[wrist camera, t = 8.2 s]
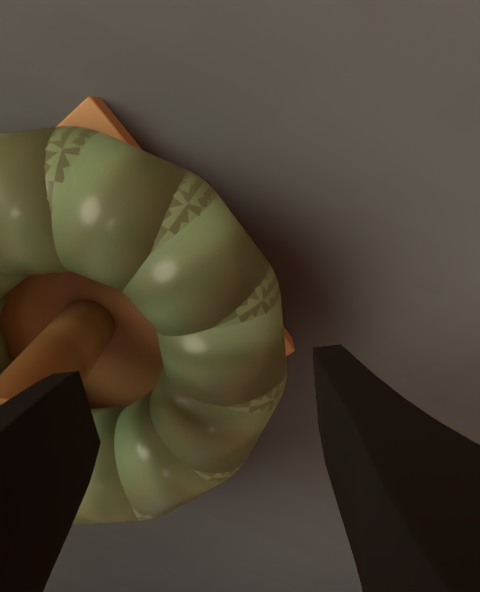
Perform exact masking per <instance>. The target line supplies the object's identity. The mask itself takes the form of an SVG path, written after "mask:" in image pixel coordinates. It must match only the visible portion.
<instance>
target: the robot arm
mask: <svg viewBox="0 0 480 592" xmlns="http://www.w3.org/2000/svg"><path fill="white" fill-rule="evenodd" d="M313 360H314V374H315V387H316V400H317V413H318V425H319V430H320V436H321V442H322V447H323V452H324V458H325V463H326V467H327V470H328V474H329V477H330V480H331V484H332V487H333V490H334V494H335V497H336V500H337V504H338V507H339V510H340V513H341V517H342V520H343V523H344V527H345V530H346V533H347V536H348V540H349V543H350V546H351V550H352V553H353V556H354V559H355V563H356V567H357V570H358V574H359V578H360V582H361V586H362V590H363V592H480V445H479V444H477V443H475V442H473V441H472V440H470V439H468V438H466V437H465V436H463V435H461V434H459V433H458V432H456V431H454V430H452V429H451V428H449V427H447V426H445V425H444V424H442V423H441V422H439V421H437V420H436V419H434V418H433V417H431V416H429V415H428V414H426V413H425V412H424V411H422V410H421V409H419V408H418V407H416V406H415V405H413V404H412V403H411V402H409V401H408V400H406V399H405V398H403V397H402V396H401V395H399V394H398V393H397V392H396V391H394V390H393V389H392V388H390V387H389V386H388V385H387V384H385V383H384V382H383V381H382V380H380V379H379V378H378V377H377V376H376V375H374V374H373V373H372V372H371V371H370V370H369V369H368V368H366V367H365V366H364V365H363V364H362V363H361V362H360V361H358V360H357V359H356V358H355V357H354V356H353V355H352V354H351V353H350V352H348V351H347V350H346V349H345V348H344V347H343V346H341V345H332V346H322V347H313ZM100 444H101V442H100V438H99V435H98V432H97V428H96V425H95V422H94V418H93V415H92V412H91V409H90V405H89V402H88V399H87V395H86V392H85V389H84V385H83V382H82V379H81V376H80V372H79V371H73V372H63V373H53V374H51V375H49V376H47V377H45V378H43V379H42V380H40V381H38V382H36V383H35V384H33V385H31V386H30V387H28V388H26V389H25V390H23V391H22V392H20V393H18V394H17V395H15V396H14V397H12V398H11V399H9V400H7V401H6V402H4V403H3V404H1V405H0V592H43V590H44V588H45V585H46V583H47V581H48V578H49V576H50V574H51V571H52V569H53V567H54V565H55V562H56V560H57V558H58V555H59V553H60V551H61V549H62V546H63V544H64V542H65V539H66V537H67V535H68V533H69V530H70V528H71V526H72V523H73V521H74V519H75V517H76V514H77V512H78V510H79V507H80V505H81V503H82V500H83V498H84V496H85V493H86V491H87V488H88V486H89V483H90V480H91V477H92V473H93V470H94V467H95V463H96V459H97V455H98V451H99V448H100Z"/></svg>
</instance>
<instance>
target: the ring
mask: <svg viewBox="0 0 480 592" xmlns="http://www.w3.org/2000/svg"><path fill="white" fill-rule="evenodd" d="M68 271H71V272H74V273H77V274H79V275H82V276H84V277H87V278H89V279H92V280H94V281H97V282H99V283H102V284H104V285H107V286H109V287H112V288H114V289H117V290H119V291H122V292H123V293H124V294H125V296H126V297H127V298H128V299H129V300H130V301H131V302H132V303H133V304H134V306H135V307H136V308H137V309H138V310H139V311H140V312H141V313H142V315H143V316H144V317H145V318H146V319H147V320H148V321H149V322H150V323H151V325H152V326H153V327H154V328H155V329H156V331H157V336H158V341H159V346H160V351H161V356H162V360H163V365H164V366H163V368H162V370H161V373H160V375H159V377H158V380H157V382H156V384H155V387H154V389H153V390H152V391H150V392H149V393H147V394H145V395H144V396H142V397H141V398H139V399H138V400H136V401H135V402H133V403H132V404H130V405H129V406H119V407H107V408H95V409H91V412H92V415H93V418H94V422H95V425H96V428H97V432H98V435H99V438H100V442H101V444H100V448H99V451H98V455H97V459H96V463H95V467H94V470H93V473H92V477H91V480H90V483H89V486H88V488H87V491H86V493H85V496H84V498H83V500H82V503H81V505H80V507H79V510H78V512H77V514H76V517H75V519H74V521H73V523H72V525H87V524H102V523H117V522H132V521H145V520H151V519H155V518H158V517H160V516H162V515H165V514H167V513H169V512H171V511H172V510H174V509H176V508H178V507H179V506H181V505H183V504H185V503H187V502H188V501H190V500H192V499H194V498H196V497H197V496H199V495H201V494H203V493H205V492H206V491H208V490H210V489H212V488H213V487H215V486H217V485H219V484H221V483H222V482H224V481H226V480H227V479H229V478H230V477H231V476H233V475H234V474H235V473H236V472H237V471H238V470H239V469H240V468H241V467H242V465H243V464H244V463H245V461H246V460H247V458H248V456H249V454H250V453H251V451H252V449H253V447H254V445H255V444H256V442H257V440H258V438H259V437H260V435H261V433H262V431H263V430H264V428H265V426H266V424H267V422H268V421H269V419H270V417H271V415H272V414H273V412H274V410H275V408H276V406H277V405H278V403H279V401H280V399H281V397H282V394H283V392H284V389H285V384H286V379H287V362H286V350H285V338H284V327H283V315H282V304H281V293H280V287H279V283H278V280H277V278H276V275H275V273H274V271H273V268H272V267H271V265H270V264H269V262H268V261H267V259H266V258H265V256H264V255H263V254H262V252H261V251H260V250H259V248H258V247H257V246H256V244H255V243H254V242H253V240H252V239H251V238H250V236H249V235H248V234H247V232H246V231H245V230H244V228H243V227H242V226H241V224H240V223H239V222H238V220H237V219H236V218H235V216H234V215H233V214H232V212H231V211H230V210H229V208H228V207H227V206H226V204H225V203H224V202H223V200H222V199H221V198H220V196H219V195H218V194H217V192H216V191H215V190H214V189H213V188H212V187H211V186H210V185H209V184H208V183H207V182H206V181H204V180H203V179H202V178H201V177H199V176H198V175H196V174H194V173H192V172H190V171H188V170H186V169H184V168H182V167H179V166H177V165H175V164H173V163H170V162H168V161H166V160H164V159H161V158H159V157H157V156H154V155H152V154H150V153H148V152H145V151H143V150H141V149H139V148H136V147H134V146H132V145H130V144H127V143H125V142H123V141H121V140H118V139H116V138H114V137H112V136H109V135H107V134H105V133H102V132H99V131H97V130H94V129H90V128H85V127H78V126H61V127H53V128H45V129H37V130H29V131H21V132H13V133H5V134H0V317H1V313H2V309H3V305H4V301H5V297H6V294H7V293H8V292H9V291H10V290H12V289H13V288H14V287H15V286H17V285H18V284H19V283H20V282H22V281H23V280H24V279H25V278H26V277H28V276H30V275H40V274H49V273H59V272H68ZM11 363H12V360H11V358H10V355H9V352H8V349H7V346H6V343H5V340H4V338H3V335H2V332H1V329H0V374H1V373H2V372H3V371H4V370H5V369H6V368H7V367H8V366H9V365H10V364H11Z"/></svg>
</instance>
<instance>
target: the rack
mask: <svg viewBox="0 0 480 592" xmlns="http://www.w3.org/2000/svg"><path fill="white" fill-rule="evenodd" d="M61 126H78V127H85V128H90V129H94V130H97V131H99V132H102V133H105V134H107V135H109V136H112V137H114V138H116V139H118V140H121V141H123V142H125V143H127V144H130V145H132V146H134V147H136V148H139V149H141V148H140V146H139V145H138V144H137V143H136V141H135V140H134V139H133V138H132V136H131V135H130V134H129V133H128V131H127V130H126V129H125V128H124V126H123V125H122V124H121V123H120V121H119V120H118V119H117V118H116V116H115V115H114V114H113V113H112V111H111V110H110V109H109V108H108V106H107V105H106V104H105V103H104V101H103V100H102V99H101V98H99V97H92V96H89V97H87V98H86V99H85V100H84V101H83V102H82V103H81V104H80V105H78V106H77V107H76V108H75V109H74V110H73V111H72V112H71V113H70V114H69V115H68V116H67V117H66V118H65V119H63V120H62V121H61V122H60V123H59V124H58V125H57V126H56V127H61ZM141 150H142V149H141ZM283 327H284V326H283ZM0 329H1V332H2V335H3V338H4V340H5V343H6V346H7V349H8V352H9V355H10V358H11V360H12V363H11V364H10V365H9V366H8V367H7V368H6V369H5V370H4V371H3V372H2V373H1V374H0V405H1V404H3V403H4V402H6V401H7V400H9V399H11V398H12V397H14V396H15V395H17V394H18V393H20V392H22V391H23V390H25V389H26V388H28V387H30V386H31V385H33V384H35V383H36V382H38V381H40V380H42V379H43V378H45V377H47V376H49V375H51V374H53V373H63V372H73V371H79V372H80V376H81V379H82V382H83V385H84V389H85V392H86V395H87V399H88V402H89V405H90V409H95V408H107V407H119V406H129V405H130V404H132V403H133V402H135V401H136V400H138V399H139V398H141V397H142V396H144V395H145V394H147V393H149V392H150V391H152V390H153V389H154V387H155V384H156V382H157V380H158V377H159V375H160V373H161V370H162V368H163V366H164V365H163V360H162V356H161V351H160V346H159V341H158V336H157V331H156V329H155V328H154V327H153V326H152V325H151V323H150V322H149V321H148V320H147V319H146V318H145V317H144V316H143V315H142V313H141V312H140V311H139V310H138V309H137V308H136V307H135V306H134V304H133V303H132V302H131V301H130V300H129V299H128V298H127V297H126V296H125V294H124V293H123V292H122V291H119V290H117V289H114V288H112V287H109V286H107V285H104V284H102V283H99V282H97V281H94V280H92V279H89V278H87V277H84V276H82V275H79V274H77V273H74V272H71V271H68V272H59V273H49V274H40V275H30V276H28V277H26V278H25V279H24V280H23V281H22V282H20V283H19V284H18V285H17V286H15V287H14V288H13V289H12V290H10V291H9V292H8V293H7V294H6V297H5V301H4V305H3V309H2V313H1V317H0ZM284 338H285V350H286V356H288V355H289V354H291V353H292V352H294V351H295V349H294V343H293V338H292V336H291V335H290V334H289V332H288V331H287V330H286V329H285V327H284Z"/></svg>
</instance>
